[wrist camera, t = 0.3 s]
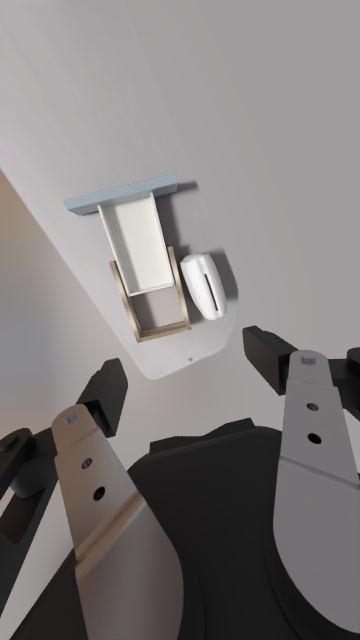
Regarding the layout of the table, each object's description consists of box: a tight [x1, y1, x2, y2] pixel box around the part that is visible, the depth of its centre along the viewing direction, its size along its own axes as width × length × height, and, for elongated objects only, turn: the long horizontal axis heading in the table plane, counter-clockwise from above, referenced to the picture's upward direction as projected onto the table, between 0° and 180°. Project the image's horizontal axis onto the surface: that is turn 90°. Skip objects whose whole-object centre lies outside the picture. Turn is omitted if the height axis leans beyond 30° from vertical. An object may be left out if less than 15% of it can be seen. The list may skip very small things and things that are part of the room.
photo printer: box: [180, 253, 227, 320], centre depth 31 cm, size 10×4×12 cm, turn 22°
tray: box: [64, 173, 179, 297], centre depth 31 cm, size 16×17×4 cm
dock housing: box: [109, 246, 191, 343], centre depth 35 cm, size 16×11×4 cm
